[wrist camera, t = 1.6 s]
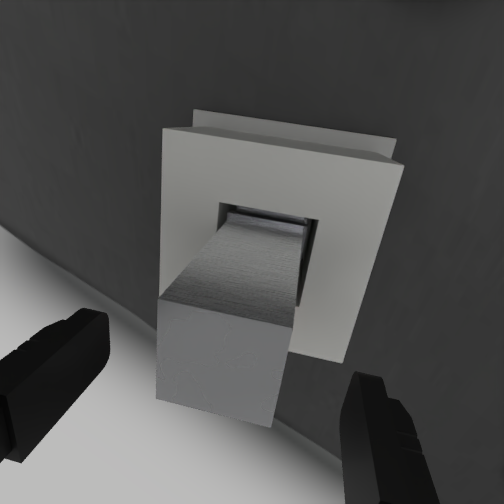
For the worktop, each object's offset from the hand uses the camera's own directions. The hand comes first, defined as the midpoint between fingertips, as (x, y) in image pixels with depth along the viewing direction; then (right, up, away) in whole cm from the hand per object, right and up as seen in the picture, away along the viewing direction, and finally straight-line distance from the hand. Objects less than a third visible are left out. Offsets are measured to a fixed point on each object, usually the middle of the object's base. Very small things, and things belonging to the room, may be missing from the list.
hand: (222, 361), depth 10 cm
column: (+3, +6, +14) cm, 16 cm away
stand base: (+3, +6, +15) cm, 17 cm away
